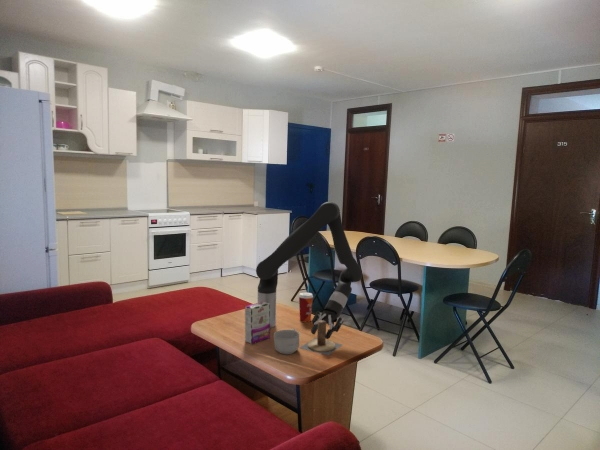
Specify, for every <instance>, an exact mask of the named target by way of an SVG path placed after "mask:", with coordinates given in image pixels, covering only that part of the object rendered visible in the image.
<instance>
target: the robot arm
mask: <svg viewBox="0 0 600 450" xmlns="http://www.w3.org/2000/svg"><path fill="white" fill-rule="evenodd" d="M327 226H328V227H329V230H330V232H331V237H332V243H333V247H334V251H335V253H336V256H337V259H338V261H339V263H340V264H341V265H344V266H345V268H344V269H343V270H342V271H341V272H340V274H339V277H338V282H337V285H336V287H335V289H334V291H333V293H332V294H331V295H330V297H329V299H328V301H327V303H326V305H325V307H324V309H323V312H320V311H319V310H317V311H316V312H315V314H314V315H313V318H312V319H311V323H312V324H313V326H312V328H311V330H310V331H311V332H310V333H311V335H316V333H317V332H318V321H320V320H324V321H326V325H328V326H329V329H327V330H326V331H327V332H326V335H325V338H326V340H329V339H330V338H331V337H332V335H333V333H334V332H335V333H338V332H339V331H340V329H341V327H342V325H343V323H344V319H343V318H342V317H340V316H341V315H342V312H343V311H344V308H345V306H346V304H347V302H348V300H349V298H350V295H351V293H352V292H353V291H352V289H353V288H352V286H351V284H352V283H357V282H360V281H361V280H362V277H363V271H362V268H361V267H360V264H359V263H358V262H357V260H356V259H355V257H354V256H353V253H352V249H351V247H350V244H349V240H348V238H347V236H346V233H345V232H346V231H345V230H344V226H343V223H342V217H341V210H340V207H339V205H338V204H337V203H335V202H333V201H326V202H324V203H322V204H321V205H320V206H319V207H318V208H317V210H316V211H315V212H314V213H313V214H312V215H311V216H310V217H309V218H308V219H307V220H306V221H305V222H304V223H302V224H301V225H299V226H298V227H297V228H296V229H295V230H293V232H291V233H290V234H289V235H288V236H287V237H286V238H285V239H284V240H283V241H282V242H281V243H280V244H279V245H278V247H277V248H276V249H275V250H274V251H273V252H272V253H271V254H269V255H268V256H267V257H266V258H264V259H263V260H262V261H260V262H259V263H258V264H257V266H256V268H255V274H256V276H257V277H258V278H259V282H258V284H257V303H259V302H267V303H270V329H271V328H274V327H275V326H276V325H277V287H278V282H279V280H278V279H279V269H280V268H281V267H282V266H283V265H284V264H285V263H286V262H288V261H289V260H290V259H292V258H294V257H295V256H297V254H299V253H300V252H301V251H303V250H304V249H305V248H306V247H307V246H308V244H310V243H311V242H312V240H313V239H314V238H315V236H317V234H318V232H320V231H321V230H322V229H323V228H325V227H327Z"/></svg>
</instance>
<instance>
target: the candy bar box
mask: <svg viewBox="0 0 600 450" xmlns="http://www.w3.org/2000/svg"><path fill="white" fill-rule="evenodd" d="M244 329H245V330H244V334H245V335H244V337H245V339H244V341H245V342H246V343H247V342H248V344H250V345H253V344H257V343H259V342H262V341H265V340H268V339H270V338H271V335H270V334H271V333H270V332H271V328H270V303H267V302H259V303H258V302H256V303H253V304H249V305H246V306H244Z"/></svg>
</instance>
